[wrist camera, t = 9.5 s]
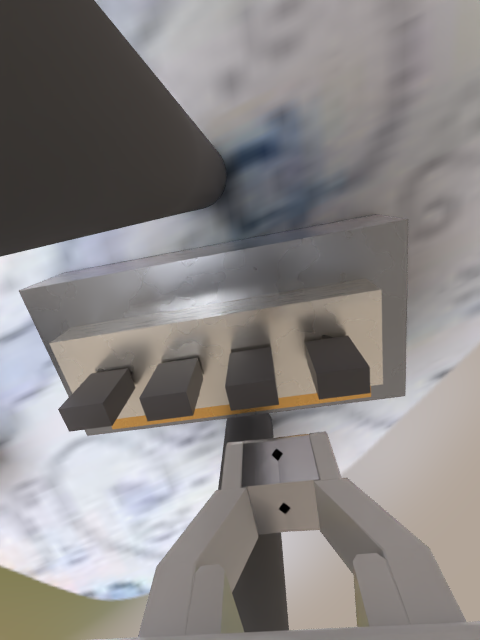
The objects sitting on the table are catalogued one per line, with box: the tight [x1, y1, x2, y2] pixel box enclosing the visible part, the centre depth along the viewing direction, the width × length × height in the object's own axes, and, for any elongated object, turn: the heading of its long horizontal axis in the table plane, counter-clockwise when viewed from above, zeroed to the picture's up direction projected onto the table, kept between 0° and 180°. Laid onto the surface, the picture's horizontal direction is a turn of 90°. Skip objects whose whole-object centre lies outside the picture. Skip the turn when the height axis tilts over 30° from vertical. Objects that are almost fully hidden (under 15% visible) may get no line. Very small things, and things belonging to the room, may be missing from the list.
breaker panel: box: [19, 215, 408, 436], centre depth 18 cm, size 10×20×6 cm, turn 101°
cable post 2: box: [218, 413, 289, 632], centre depth 15 cm, size 4×4×20 cm
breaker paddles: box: [58, 336, 371, 431], centre depth 14 cm, size 1×13×3 cm, turn 101°
